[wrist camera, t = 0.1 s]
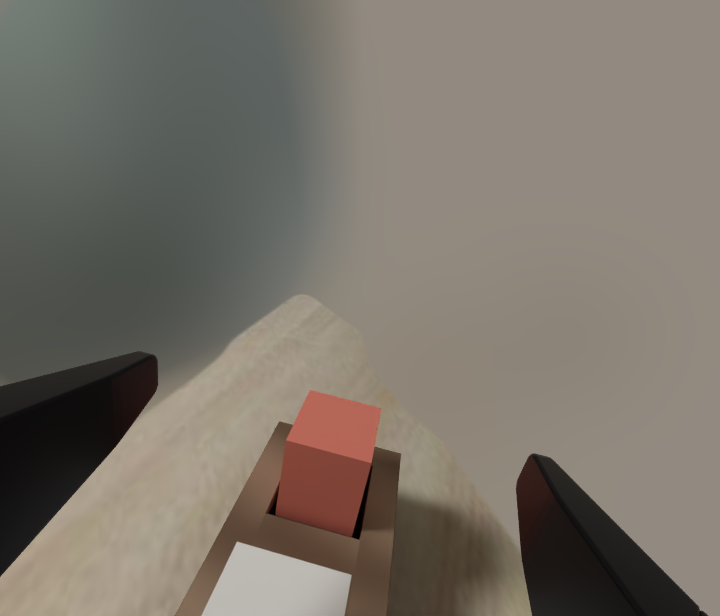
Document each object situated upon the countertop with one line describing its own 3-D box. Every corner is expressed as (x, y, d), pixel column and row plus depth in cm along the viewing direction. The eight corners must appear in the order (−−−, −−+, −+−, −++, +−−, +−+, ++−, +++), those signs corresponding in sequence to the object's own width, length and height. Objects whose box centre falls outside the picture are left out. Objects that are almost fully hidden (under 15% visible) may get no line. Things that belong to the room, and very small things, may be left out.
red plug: (351, 537, 20) (371, 463, 18) (275, 515, 20) (285, 440, 18) (363, 475, 23) (381, 408, 21) (299, 457, 23) (310, 390, 21)
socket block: (323, 1011, 11) (354, 975, 9) (66, 915, 12) (42, 860, 10) (384, 508, 27) (400, 453, 25) (271, 477, 27) (279, 421, 25)
